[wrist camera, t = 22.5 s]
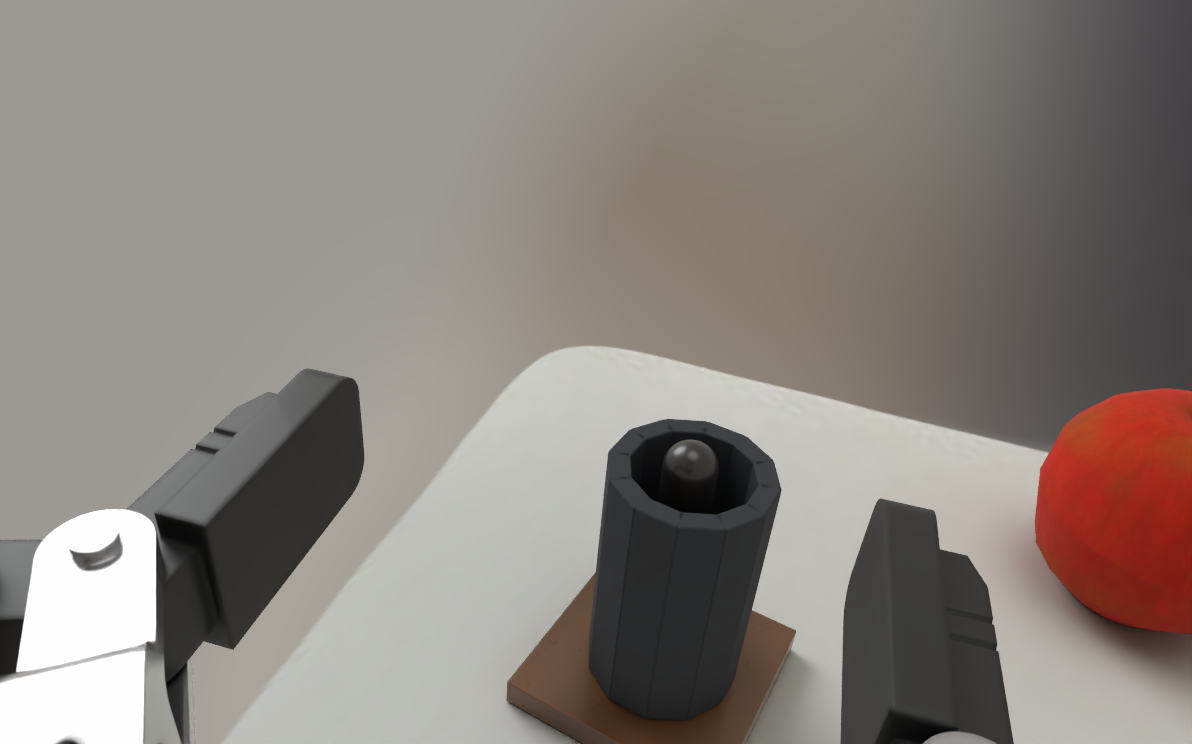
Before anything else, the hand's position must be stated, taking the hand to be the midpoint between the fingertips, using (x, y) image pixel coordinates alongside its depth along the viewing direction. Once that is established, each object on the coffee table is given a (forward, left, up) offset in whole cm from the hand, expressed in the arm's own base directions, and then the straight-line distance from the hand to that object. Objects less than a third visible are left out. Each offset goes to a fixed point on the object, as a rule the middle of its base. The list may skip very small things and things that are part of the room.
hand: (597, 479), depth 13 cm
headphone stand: (-3, +14, -22) cm, 26 cm away
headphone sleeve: (-3, +14, -21) cm, 25 cm away
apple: (+14, +31, -22) cm, 40 cm away
